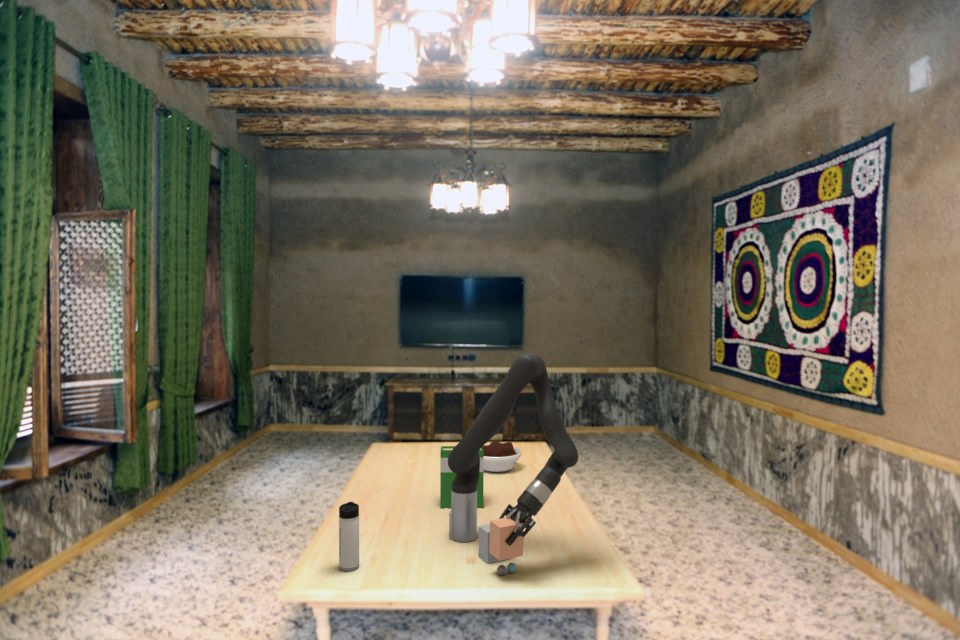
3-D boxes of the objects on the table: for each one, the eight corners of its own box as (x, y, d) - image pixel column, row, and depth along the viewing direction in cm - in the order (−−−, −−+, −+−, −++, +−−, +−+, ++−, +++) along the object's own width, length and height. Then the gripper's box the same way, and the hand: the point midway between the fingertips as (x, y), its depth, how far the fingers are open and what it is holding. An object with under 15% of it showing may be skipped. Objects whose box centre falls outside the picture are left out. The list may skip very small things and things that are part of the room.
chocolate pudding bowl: (463, 466, 308) (463, 437, 308) (506, 461, 319) (506, 432, 318) (484, 479, 286) (484, 447, 285) (530, 473, 296) (530, 442, 296)
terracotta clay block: (499, 560, 181) (500, 527, 181) (489, 552, 187) (489, 520, 186) (522, 555, 185) (523, 523, 185) (512, 547, 191) (513, 516, 190)
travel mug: (360, 562, 194) (360, 501, 193) (357, 571, 187) (357, 508, 186) (341, 562, 193) (341, 501, 193) (337, 571, 187) (337, 508, 186)
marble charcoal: (495, 576, 184) (495, 566, 184) (498, 572, 187) (498, 562, 187) (505, 577, 183) (505, 568, 183) (507, 573, 186) (507, 563, 186)
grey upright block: (487, 563, 193) (487, 532, 192) (478, 556, 198) (478, 526, 198) (510, 558, 197) (510, 528, 196) (500, 551, 202) (500, 521, 202)
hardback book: (482, 502, 253) (482, 445, 252) (483, 508, 245) (483, 450, 245) (440, 502, 252) (441, 446, 251) (440, 508, 245) (440, 450, 244)
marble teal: (506, 573, 186) (506, 564, 186) (508, 569, 189) (508, 560, 189) (515, 575, 185) (515, 565, 185) (517, 571, 188) (517, 561, 188)
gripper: (515, 483, 195) (483, 524, 190) (540, 496, 182) (506, 541, 177) (529, 497, 198) (497, 538, 193) (554, 511, 185) (521, 555, 180)
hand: (501, 539), depth 185 cm, fingers closed on terracotta clay block, 6 cm apart
